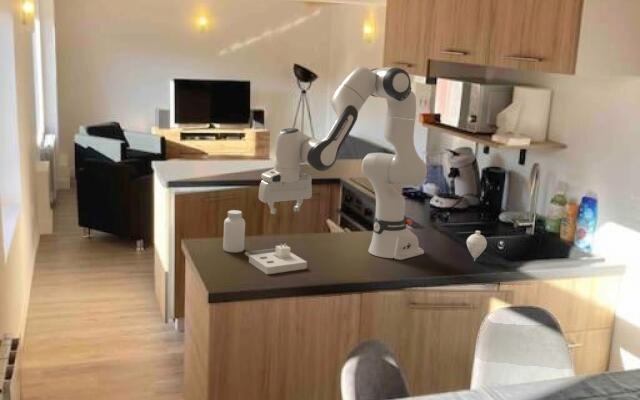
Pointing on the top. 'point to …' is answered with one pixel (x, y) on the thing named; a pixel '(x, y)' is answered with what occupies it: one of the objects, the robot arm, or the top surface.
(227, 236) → the pill bottle
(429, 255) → the top surface
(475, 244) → the spinning top
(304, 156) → the robot arm
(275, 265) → the outlet plate
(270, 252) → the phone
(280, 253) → the charger
